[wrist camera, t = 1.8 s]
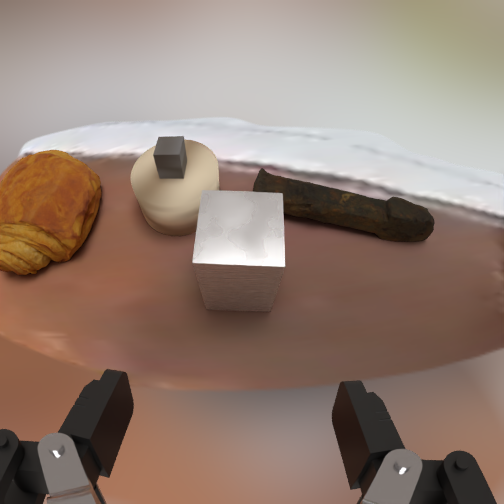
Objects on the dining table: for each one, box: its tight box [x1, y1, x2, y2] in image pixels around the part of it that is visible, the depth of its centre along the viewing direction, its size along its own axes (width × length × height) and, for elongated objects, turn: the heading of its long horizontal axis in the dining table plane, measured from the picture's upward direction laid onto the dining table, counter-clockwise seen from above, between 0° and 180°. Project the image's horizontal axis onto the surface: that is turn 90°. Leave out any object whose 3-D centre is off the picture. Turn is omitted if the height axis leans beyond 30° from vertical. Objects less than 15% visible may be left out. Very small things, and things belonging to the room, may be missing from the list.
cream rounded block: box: [131, 136, 220, 236], centre depth 28 cm, size 8×8×8 cm
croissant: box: [0, 150, 101, 275], centre depth 27 cm, size 14×16×8 cm
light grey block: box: [192, 190, 285, 312], centre depth 24 cm, size 5×5×9 cm
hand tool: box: [253, 169, 434, 241], centre depth 29 cm, size 19×4×5 cm, turn 76°
